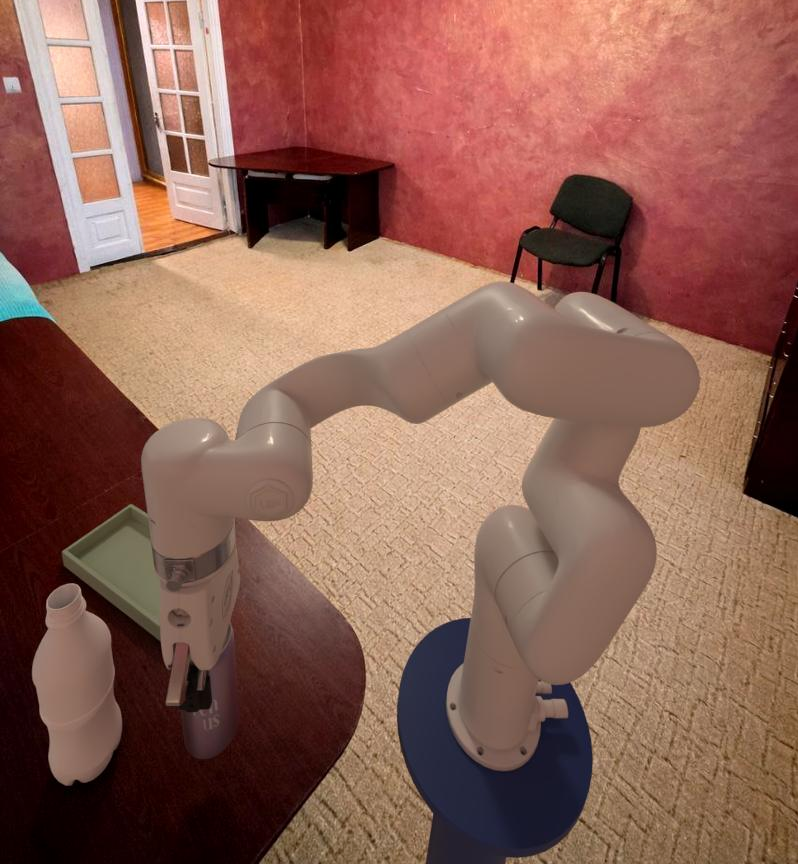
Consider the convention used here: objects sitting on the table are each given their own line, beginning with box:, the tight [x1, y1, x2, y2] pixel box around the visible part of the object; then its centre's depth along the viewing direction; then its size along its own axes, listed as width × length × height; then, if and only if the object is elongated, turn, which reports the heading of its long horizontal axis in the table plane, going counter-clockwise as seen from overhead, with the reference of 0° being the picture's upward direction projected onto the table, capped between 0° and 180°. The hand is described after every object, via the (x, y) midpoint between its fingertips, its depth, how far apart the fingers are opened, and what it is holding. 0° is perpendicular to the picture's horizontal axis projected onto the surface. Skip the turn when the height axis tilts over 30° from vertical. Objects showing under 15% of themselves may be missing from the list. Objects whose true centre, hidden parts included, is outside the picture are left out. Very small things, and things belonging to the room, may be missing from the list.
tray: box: [61, 503, 161, 642], centre depth 79 cm, size 25×12×3 cm, turn 62°
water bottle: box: [31, 583, 123, 787], centre depth 54 cm, size 7×7×25 cm
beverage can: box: [179, 622, 240, 760], centre depth 53 cm, size 6×6×15 cm
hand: (207, 669), depth 53 cm, fingers closed on beverage can, 6 cm apart
